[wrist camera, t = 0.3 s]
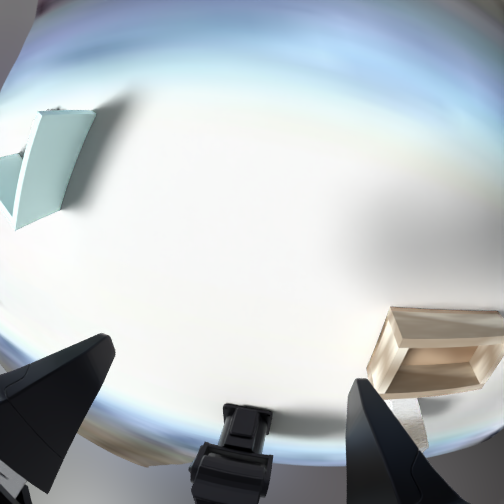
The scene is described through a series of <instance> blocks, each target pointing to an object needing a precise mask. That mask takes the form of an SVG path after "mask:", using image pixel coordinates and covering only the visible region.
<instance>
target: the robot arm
mask: <svg viewBox="0 0 504 504" xmlns="http://www.w3.org/2000/svg"><path fill="white" fill-rule="evenodd" d="M114 357H115V348H114V345H113V343H112V340H111V337H110V336H109V335H106V334H103V333H100V334H97V335H95V336H93V337H90V338H88V339H86V340H84V341H81V342H79V343H77V344H74V345H72V346H70V347H68V348H65V349H63V350H61V351H58V352H56V353H54V354H51V355H49V356H47V357H44V358H42V359H40V360H37V361H35V362H33V363H31V364H28V365H26V366H23V367H21V368H18V369H16V370H13V371H10V372H7V373H4V374H1V375H0V504H32V502H31V498H30V493H29V489H28V486H27V485H26V484H25V483H26V482H27V481H28V482H30V483H31V484H33V485H34V486H36V487H37V488H39V489H40V490H42V491H43V492H45V493H46V494H48V493H49V491H50V489H51V487H52V484H53V482H54V480H55V477H56V475H57V473H58V471H59V469H60V466H61V464H62V462H63V459H64V458H65V455H66V453H67V451H68V449H69V447H70V445H71V443H72V441H73V439H74V437H75V435H76V433H77V431H78V429H79V427H80V425H81V424H82V422H83V420H84V418H85V416H86V414H87V412H88V410H89V408H90V407H91V405H92V403H93V401H94V399H95V397H96V396H97V394H98V392H99V390H100V388H101V386H102V384H103V382H104V380H105V378H106V375H107V373H108V371H109V368H110V366H111V364H112V362H113V359H114ZM272 415H273V413H272V412H271V411H265V410H258V409H251V408H245V407H240V406H234V405H229V404H224V406H223V416H224V427H223V430H222V433H221V436H220V439H219V442H218V445H214V444H210V443H209V442H205V443H204V445H202V446H200V449H199V452H198V454H197V456H196V458H195V459H194V461H193V462H192V464H191V465H190V467H189V472H190V473H191V482H192V483H193V486H192V489H191V491H192V495H193V498H194V501H195V504H258V503H259V498H260V497H262V498H265V496H266V494H267V490H268V486H269V481H270V475H271V469H272V461H273V455H264V454H262V451H263V446H264V441H265V436H266V435H268V434H269V430H270V425H271V420H272ZM346 465H347V504H471V503H469V502H467V501H465V500H464V499H462V498H461V497H460V496H459V495H458V494H457V493H456V492H455V491H454V490H453V489H452V488H451V487H450V486H449V484H448V483H447V482H446V481H445V480H444V479H443V478H442V477H441V476H440V475H439V474H438V472H437V471H436V470H435V469H434V468H433V467H432V465H431V464H430V463H429V461H428V460H427V459H426V457H425V456H424V455H423V453H422V452H421V451H420V450H419V448H418V447H417V445H416V444H415V442H414V441H413V440H412V438H411V437H410V435H409V434H408V433H407V431H406V430H405V429H404V427H403V426H402V425H401V423H400V422H399V420H398V419H397V418H396V416H395V415H394V414H393V412H392V411H391V410H390V408H389V407H388V405H387V404H386V403H385V401H384V400H383V399H382V397H381V396H380V395H379V393H378V392H377V391H376V389H375V388H374V387H373V385H372V384H371V383H370V381H369V380H368V379H365V378H357V379H355V381H354V383H353V385H352V387H351V390H350V392H349V395H348V404H347V422H346Z"/></svg>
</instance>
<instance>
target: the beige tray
mask: <svg viewBox="0 0 504 504" xmlns="http://www.w3.org/2000/svg"><path fill="white" fill-rule="evenodd" d="M503 356H504V319H503V317H502V316H501V315H500V313H499V312H498V311H463V310H436V309H415V308H399V307H390V308H389V311H388V314H387V317H386V320H385V323H384V325H383V328H382V331H381V334H380V336H379V339H378V341H377V344H376V346H375V349H374V351H373V354H372V356H371V358H370V361H369V363H368V365H367V374H368V379H369V381H370V383H371V384H372V385H373V387H374V388H375V389H376V391H377V392H378V393H379V395H380V396H381V397H382V399H383V400H388V399H408V398H421V397H431V396H440V395H448V394H455V393H462V392H468V391H473V390H479V389H481V388H482V387H483V386H484V384H485V383H486V382H487V380H488V379H489V377H490V376H491V374H492V373H493V371H494V370H495V368H496V367H497V365H498V364H499V362H500V361H501V359H502V358H503Z"/></svg>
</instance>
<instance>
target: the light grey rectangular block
mask: <svg viewBox="0 0 504 504" xmlns="http://www.w3.org/2000/svg"><path fill="white" fill-rule="evenodd" d="M388 407H389V408H390V410H391V411H392V412H393V414H394V415H395V416H396V418H397V419H398V420H399V422H400V423H401V425H402V426H403V427H404V429H405V430H406V431H407V433H408V434H409V435H410V437H411V438H412V440H413V441H414V442H415V444H416V445H417V447H418V448H419V450H420V451H421V452H422V453H423V452H424V451H425V450H426V449H427V448H428V447H429V445H428V440H427V435H426V431H425V427H424V422H423V418H422V414H421V410H420V406H419V403H418V399H417V398H408V399H391V400H390V402H389V404H388Z"/></svg>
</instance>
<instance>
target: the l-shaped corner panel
mask: <svg viewBox="0 0 504 504" xmlns="http://www.w3.org/2000/svg"><path fill="white" fill-rule="evenodd" d="M96 115H97V114H96V113H95V112H93V111H92V110H59V109H58V110H53V109H51V110H49V109H47V110H46V111H38V112H37V115H36V118H35V119H34V120H33V123H32V127H31V133H30V136H29V138H28V143H27V146H26V150H25V153H24V157H23V159H22V157H21V156H20V155H19V154H18V153H17V154H13V155H9V156H4V157H1V158H0V210H1V211H2V213H3V214H4V216H5V217H6V218H7V220H8V221H9V223H10V224H11V226H12V227H13V228H14V230H15V231H16V230H18V229H20V228H22V227H24V226H26V225H28V224H30V223H32V222H35V221H37V220H39V219H41V218H43V217H46V216H48V215H50V214H52V213H55V212H57V211H60V208H61V205H62V201H63V198H64V195H65V192H66V189H67V185H68V182H69V180H70V177H71V174H72V171H73V168H74V166H75V163H76V160H77V158H78V155H79V153H80V150H81V148H82V145H83V143H84V141H85V138H86V136H87V134H88V131H89V129H90V127H91V125H92V123H93V121H94V119H95V117H96Z"/></svg>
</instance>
